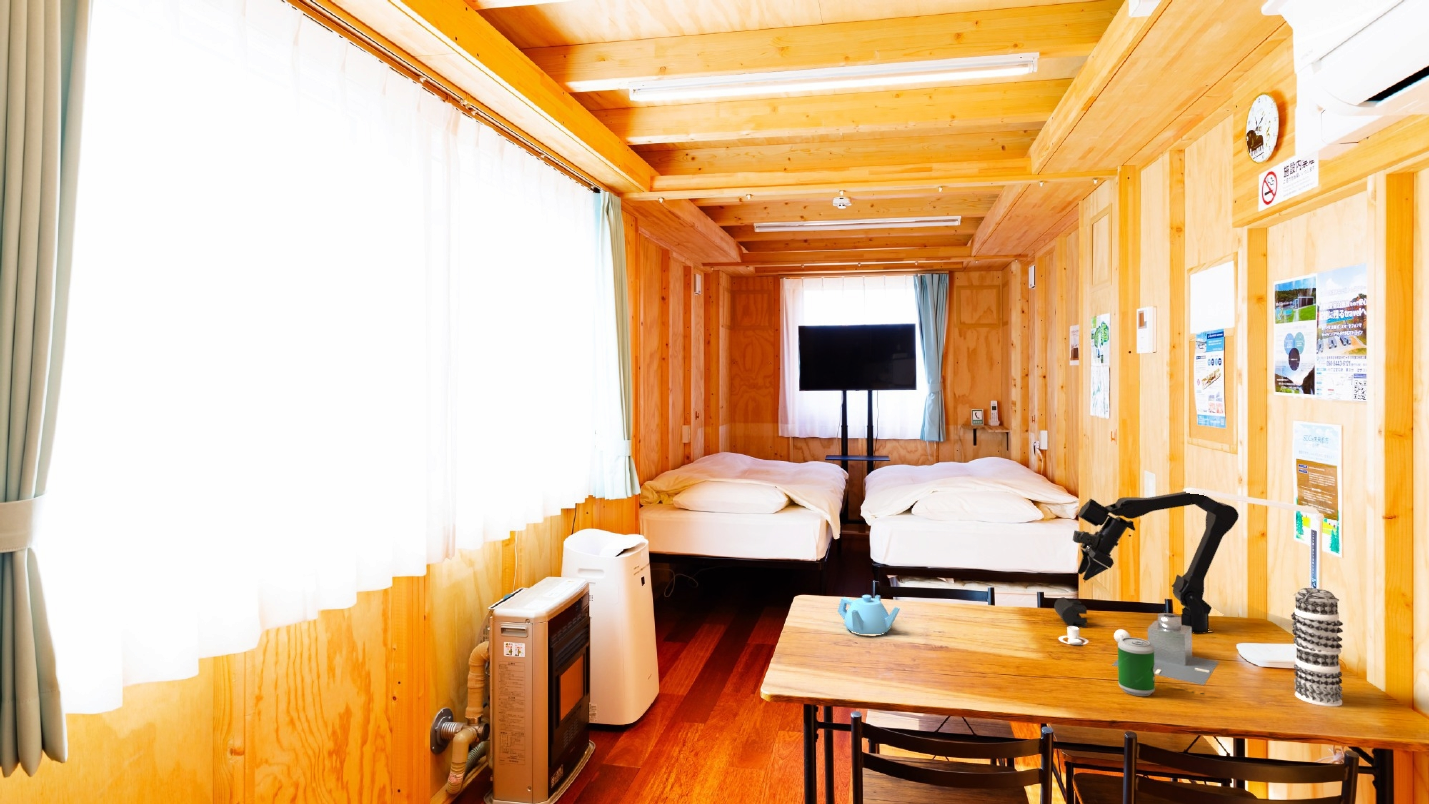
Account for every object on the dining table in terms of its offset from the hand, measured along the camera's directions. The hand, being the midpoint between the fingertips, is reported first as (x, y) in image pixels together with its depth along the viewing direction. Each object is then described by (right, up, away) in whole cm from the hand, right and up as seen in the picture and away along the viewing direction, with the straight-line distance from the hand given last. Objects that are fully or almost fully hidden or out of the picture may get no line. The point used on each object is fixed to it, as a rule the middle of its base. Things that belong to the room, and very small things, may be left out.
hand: (1081, 576), depth 223 cm
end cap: (-3, -15, +2) cm, 15 cm away
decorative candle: (+26, -15, -57) cm, 64 cm away
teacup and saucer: (-13, -16, -15) cm, 25 cm away
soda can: (-13, -15, -50) cm, 54 cm away
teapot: (-66, -17, -1) cm, 68 cm away
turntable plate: (+3, -15, -36) cm, 39 cm away
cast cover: (+7, -14, -32) cm, 36 cm away
